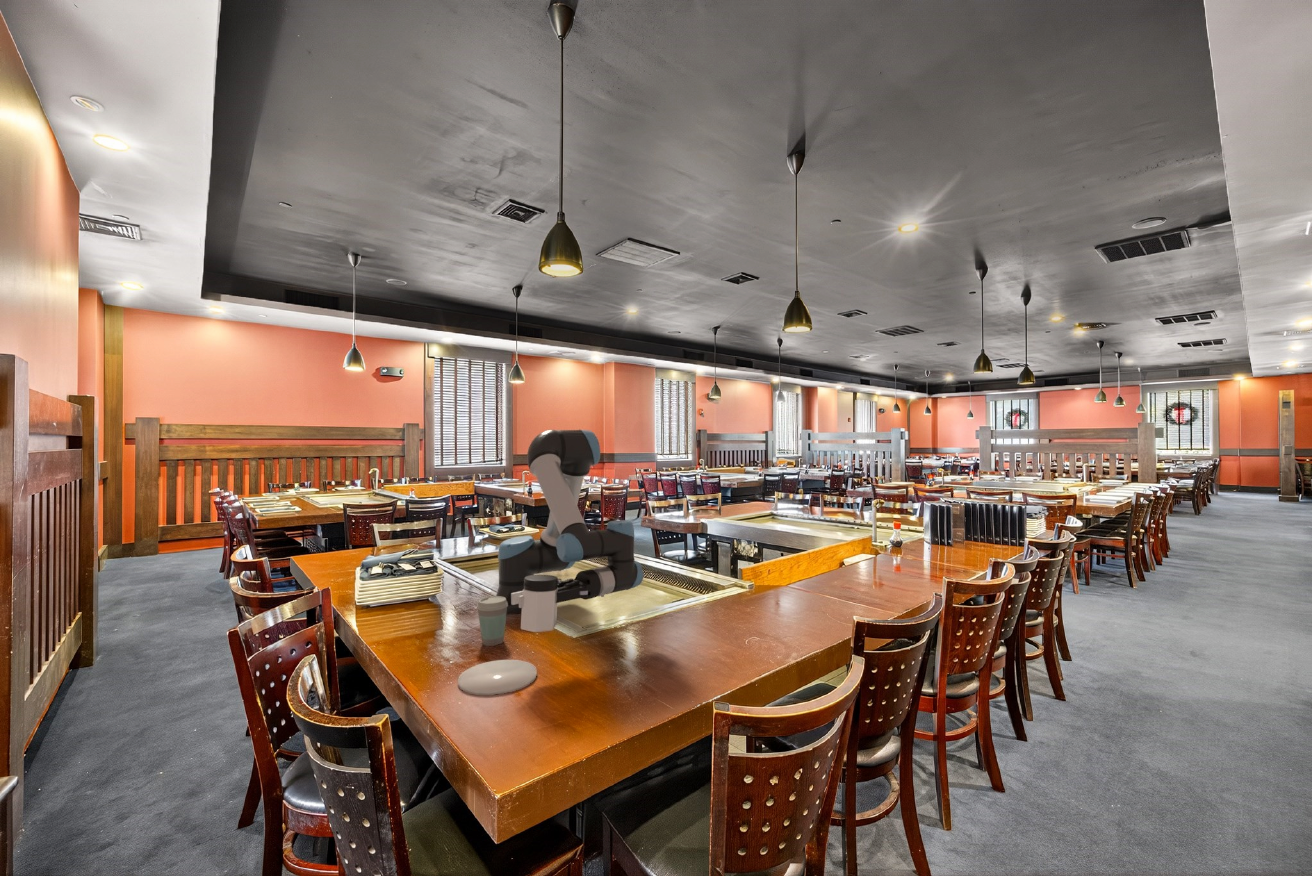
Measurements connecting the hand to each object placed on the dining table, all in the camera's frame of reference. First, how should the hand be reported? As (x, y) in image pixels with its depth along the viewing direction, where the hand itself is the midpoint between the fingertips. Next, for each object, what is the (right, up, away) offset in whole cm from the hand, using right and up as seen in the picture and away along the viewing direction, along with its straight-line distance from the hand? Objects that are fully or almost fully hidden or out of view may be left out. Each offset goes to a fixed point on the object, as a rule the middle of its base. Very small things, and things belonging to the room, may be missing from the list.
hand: (515, 600), depth 138 cm
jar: (+5, -7, +1) cm, 9 cm away
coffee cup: (-12, -18, +23) cm, 32 cm away
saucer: (-4, -18, -2) cm, 18 cm away
